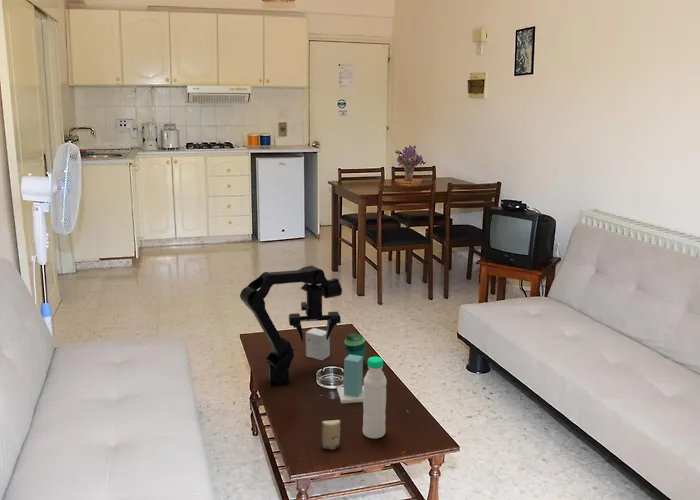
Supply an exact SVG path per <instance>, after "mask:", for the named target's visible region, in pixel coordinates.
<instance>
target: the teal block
mask: <svg viewBox="0 0 700 500" xmlns="http://www.w3.org/2000/svg"><path fill="white" fill-rule="evenodd" d="M343 365H344V366H343V387H344V395H349V396H355V397H358V396H359V395H360V393H361V392H362V386H363V385H364V377H363V375H364V374H363V373H364V370H363V369H364V366H363V356H358V355H351V354H349V355H348V356H347V355H346V356H345V358H344V360H343Z"/></svg>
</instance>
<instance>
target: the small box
mask: <svg viewBox="0 0 700 500" xmlns="http://www.w3.org/2000/svg"><path fill="white" fill-rule="evenodd" d="M326 332H327V330H325V329H319V328H315V327H312V328H311V329H309V330H307V331H305V357H307V358H310V359H311V358H312V359H315V360H318V361H323V360H325V359H327V358H328V357H330V356H331V354H330V353H331V352H330V351H331V349H330V348H331V345H330V344H331V342H330V340H331V339H330V337H329V338H328V340H326Z"/></svg>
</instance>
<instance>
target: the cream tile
mask: <svg viewBox="0 0 700 500" xmlns="http://www.w3.org/2000/svg"><path fill="white" fill-rule="evenodd" d="M336 392H337V395H338V398H339V401H340V404H351V403H363V392H364V384H363V385H362V392H361V393H360V395H359V396H358V397H355V396H349V395H344V386H337V387H336Z"/></svg>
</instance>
